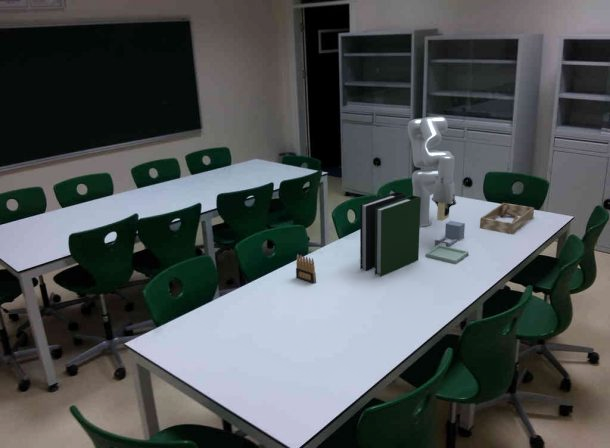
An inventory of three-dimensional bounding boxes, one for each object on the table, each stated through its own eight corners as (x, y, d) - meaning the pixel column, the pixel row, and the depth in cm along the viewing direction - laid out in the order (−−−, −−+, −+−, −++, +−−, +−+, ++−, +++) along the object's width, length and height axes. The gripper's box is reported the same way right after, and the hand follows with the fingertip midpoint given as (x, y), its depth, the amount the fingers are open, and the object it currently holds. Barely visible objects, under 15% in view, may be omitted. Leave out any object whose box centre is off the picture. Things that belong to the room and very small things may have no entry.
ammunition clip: (316, 282, 242) (315, 258, 238) (313, 284, 240) (312, 259, 236) (298, 276, 248) (297, 252, 245) (296, 277, 247) (294, 253, 243)
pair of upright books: (382, 277, 244) (383, 210, 234) (358, 268, 255) (357, 203, 244) (418, 260, 261) (420, 197, 251) (394, 252, 272) (395, 191, 261)
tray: (425, 256, 265) (425, 253, 264) (438, 248, 275) (438, 244, 274) (455, 264, 255) (456, 260, 254) (468, 254, 265) (468, 251, 264)
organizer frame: (479, 228, 300) (480, 217, 298) (502, 212, 325) (503, 202, 323) (512, 234, 289) (513, 223, 287) (533, 217, 314) (534, 207, 312)
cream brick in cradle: (437, 219, 272) (438, 202, 269) (443, 215, 277) (444, 199, 274) (442, 220, 270) (443, 203, 267) (448, 216, 275) (449, 200, 272)
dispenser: (434, 244, 279) (434, 230, 277) (450, 234, 293) (450, 220, 290) (448, 247, 274) (449, 233, 272) (463, 237, 288) (464, 223, 285)
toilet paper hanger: (508, 234, 298) (513, 223, 295) (492, 228, 301) (497, 216, 298) (516, 219, 319) (521, 209, 315) (501, 213, 322) (506, 203, 318)
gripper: (426, 178, 268) (425, 213, 275) (457, 184, 258) (454, 219, 265) (433, 175, 274) (432, 209, 280) (464, 180, 264) (461, 215, 270)
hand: (443, 214), depth 273 cm, fingers closed on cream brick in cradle, 3 cm apart
